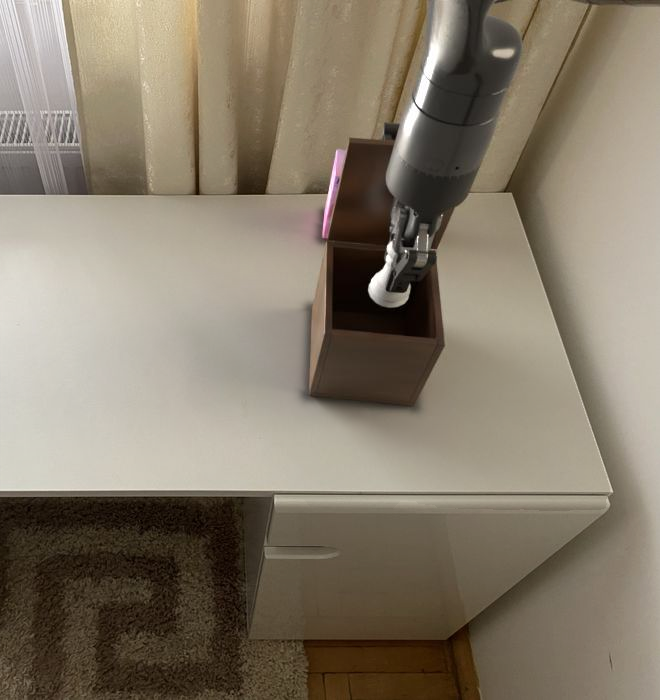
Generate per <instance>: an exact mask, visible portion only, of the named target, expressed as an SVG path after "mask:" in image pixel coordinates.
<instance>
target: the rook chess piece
mask: <svg viewBox="0 0 660 700" xmlns="http://www.w3.org/2000/svg"><path fill="white" fill-rule="evenodd" d="M402 240H404V239H402ZM386 246H387V252H388V255H387V256H386V264H385V266H384V268H383V270H380V272H378V273H376V275H375V276H374V277H373V278H372V279H371V283H370V284H369V288H368V292H369V295H370V297H371V298H372V299H373V300H374V301H375V302H376V303H377V304H379V305H380V306H382V307H387V308H393V307H399V306H401V305H403V304H405V302H406V301H407V300H408V298H409V294H410V288H411V286H410V284H409V287H408V289H407V291H406V292H405V293H395V292H388V291H386V289H385V283H386V280H387V277H388V274H389V271H390V269H391V262H392V261H393V258H394V254H395V252H394V250H393V244H392V241H391V242H390V243H389V244H388V245H386ZM404 255H405V254H403V255H402V257H401V259H402V258H403V256H404Z"/></svg>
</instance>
